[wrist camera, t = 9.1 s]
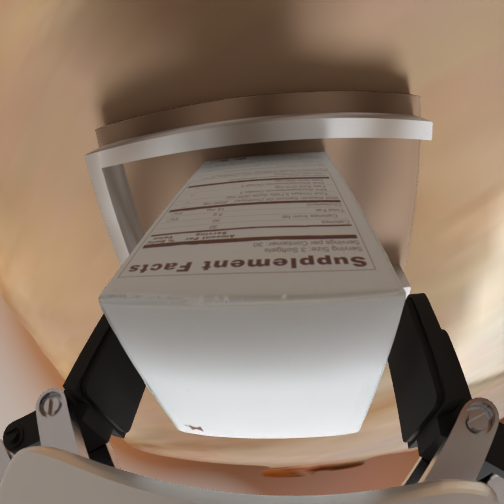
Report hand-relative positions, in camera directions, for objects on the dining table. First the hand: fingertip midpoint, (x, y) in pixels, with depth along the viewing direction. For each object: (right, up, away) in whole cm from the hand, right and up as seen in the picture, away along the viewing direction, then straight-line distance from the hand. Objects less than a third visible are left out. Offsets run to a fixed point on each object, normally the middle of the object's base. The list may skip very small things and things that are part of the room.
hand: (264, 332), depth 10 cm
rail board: (0, +6, +10) cm, 12 cm away
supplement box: (+1, +5, +9) cm, 10 cm away
